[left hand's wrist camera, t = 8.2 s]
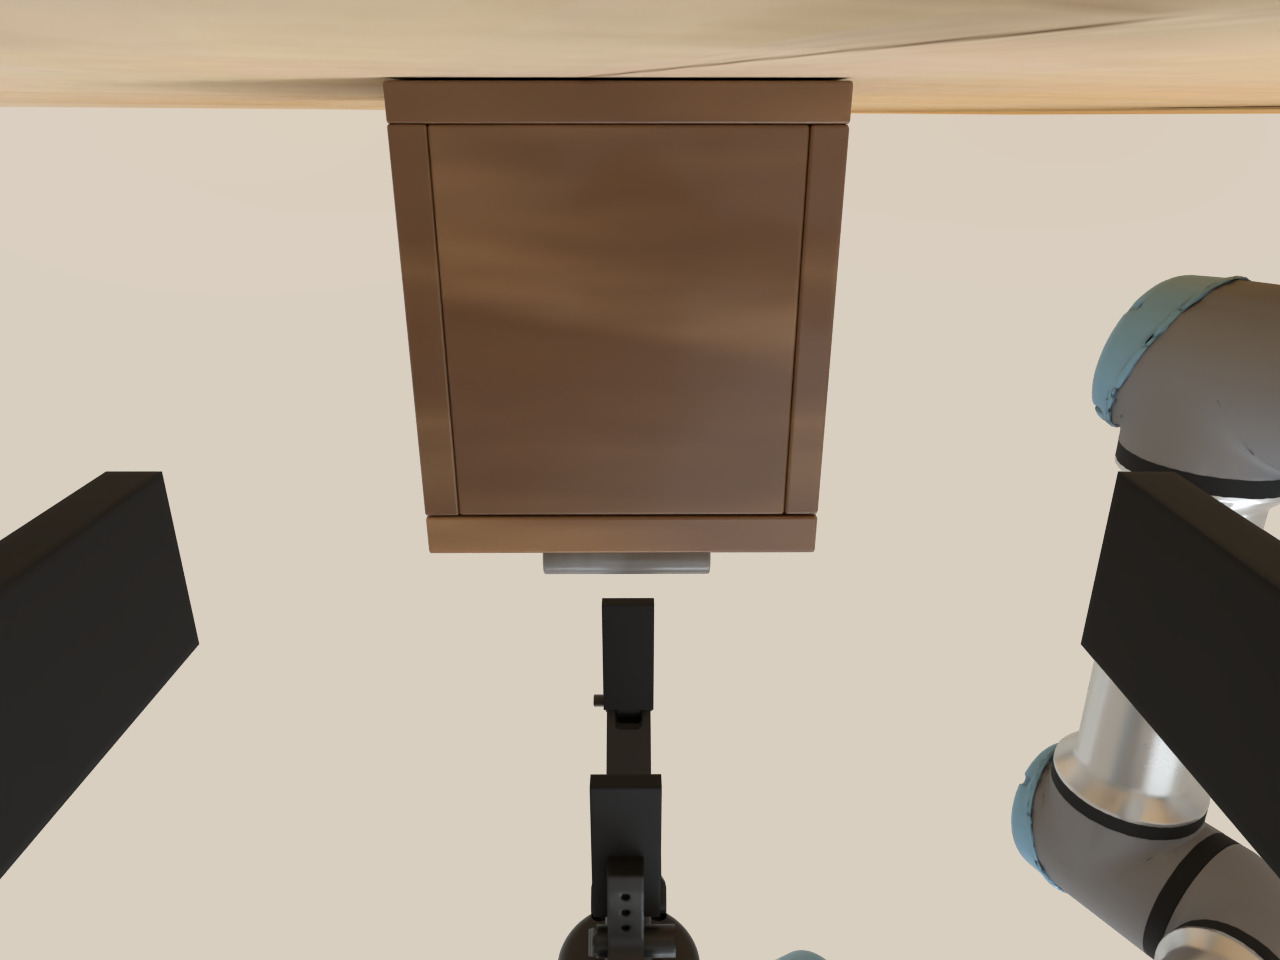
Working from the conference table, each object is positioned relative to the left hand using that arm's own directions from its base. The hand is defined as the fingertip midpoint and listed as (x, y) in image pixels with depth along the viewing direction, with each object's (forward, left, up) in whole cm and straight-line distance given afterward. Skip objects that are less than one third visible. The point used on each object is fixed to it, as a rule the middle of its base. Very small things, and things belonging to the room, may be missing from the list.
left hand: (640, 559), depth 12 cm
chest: (+15, -8, -7) cm, 18 cm away
